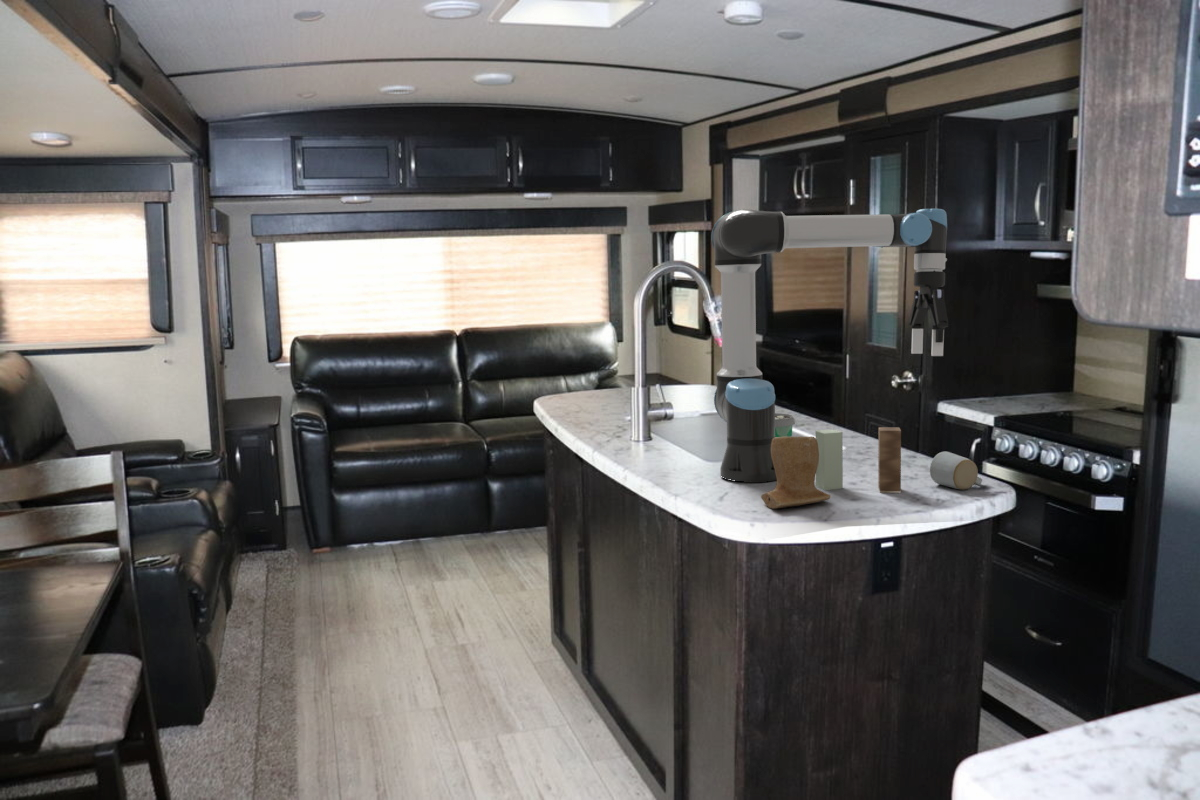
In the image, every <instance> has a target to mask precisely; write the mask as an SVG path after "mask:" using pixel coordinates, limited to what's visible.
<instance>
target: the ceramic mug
mask: <svg viewBox="0 0 1200 800" xmlns="http://www.w3.org/2000/svg"><path fill="white" fill-rule="evenodd" d="M978 472H979V469H978V466H977V465H976V463H975V462H974V461H973V460H971V459H970V458H967V457H964V456H961V455H959V454H956V453H952V452H951V451H941V452H939V453H937V454H935V456H934V457H933V459H932V460H931V463H930V465H929V475H930V477H931V479H932V480H933V481H932V482H934V483H935V484H937V485H941V486H945V487H948V488H951V489H956V490H961V491H963V490H964V491H965V490H968V489H970V488H972V487H973V486H974V485H978V486H981V484H982V483H983V478H981V477H979V476H978V475H979V473H978Z"/></svg>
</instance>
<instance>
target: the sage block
mask: <svg viewBox="0 0 1200 800" xmlns="http://www.w3.org/2000/svg"><path fill="white" fill-rule="evenodd" d="M843 434H844V433H843V431H839V430H836V429H832V428H831V429H821V430H815V438H816V440H817V442H818V448H819V462H818V467H817V471H816V474H815V487H816V488H819V489H821V490H823V489H824V491H827V490H828V491H829V490H841V489H843V487H844V485H843V483H844V478H843V477H844V475H843V474H844V471H843V470H844V469H843V468H844V466H843V461H844V460H843V459H844V458H843V457H844V456H843V454H844V453H843V447H844V446H843V443H844V442H843V441H844V440H843V438H844V437H843Z"/></svg>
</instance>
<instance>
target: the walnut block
mask: <svg viewBox="0 0 1200 800" xmlns="http://www.w3.org/2000/svg"><path fill="white" fill-rule="evenodd" d="M877 435H878V441H877V442H878V444H877V445H878V468H877V469H878V472H877V473H878V484H877V485H878V487H877V488H878V491H879V493H880V494H881V493H882V494H885V493H886V494H887V493H890V494H891V493H892V494H895V493H896V494H901V493H902V489H901V488H902V485H901V484H902V477H901V476H902V473H901V472H902V430H901V428H900V427H897V426H896V427H894V426H893V427H890V426H889V427H888V426H887V427H884V426H882V427H878V433H877Z"/></svg>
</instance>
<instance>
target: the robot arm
mask: <svg viewBox="0 0 1200 800" xmlns="http://www.w3.org/2000/svg"><path fill="white" fill-rule="evenodd" d="M947 217H948V215H947V211H945V210H944V208H943V209H942V208H922V209H918V210H916V212H910V213H898V214H897V213H895V214H889V213H888V214H885V213H883V214H832V215H831V214H829V215H828V214H827V215H826V214H825V215H822V214H821V215H820V214H819V215H785V213H783V211H764V210H755V209H745V208H743V209H737V210H735V211H730V212H728V213H725V214H724V215H722V216H721V217H720V218H718V219H717V221H716V222H715V224H714V226H713V228H712V230H711V234H710V235H711V236H710V237H711V238H710V239H711V243H712V244H711V245H712V247H713V249H714V268H715V269H717V271H719V273H720V288H721V289H720V290H721V291H720V294H721V296H720V298H721V299H720V300H721V301H720V302H721V305H720V306H721V307H720V308H721V359H722V361H721V362H722V363H721V365H722V366H721V368H720V369H719V371H717V372H716V390H715V393H714V397H713V403H714V408H715V410H716V412H717V415H718V416H719V417H720V418H721V419H722V420H723V421H724V422H726V448H725V452H724V455H723V459H722V462H721V465H720V477H721V476H722V477H724V478H726V479H731V480H735V481H744V482H743V483H765V482H766V483H767V481H768V482H773V481H777V478H776V473H775V468H774V464H773V461H772V457H771V443H772V439H773V438H774V437H775V413H776V394H775V387H774V385H773V384H772V383H771V382H770V381H769V380H765V379H763V372H762V371H761V369H759V368H758V367H757V331H756V330H757V328H756V327H757V326H756V325H757V324H756V323H757V322H756V321H757V319H756V318H757V317H756V315H757V314H756V311H757V310H756V272H757V270H758V269H759V268H760V267H761V266H762V255H764V254H774V253H775V254H777V253H783V251H785V249H807V248H809V249H810V248H811V249H812V248H816V249H817V248H851V247H852V248H853V247H857V248H858V247H859V248H861V247H873V248H882V249H883V248H914V253H913V257H914V258H913V269H914V271H915V272H914V273H913V286H914V287H917V288H919V290H914V292H913V293H914V294H913V301H912V302H913V303H912V306H911V310H910V315H909V320H908V326H909V327H910V328H911V349H910V351H911V352H910V353H911V354H912V355H913V354H915V355H916V354H920V355H922V354H923V353H924V352H923V350H924V349H923V348H924V329H925V326H924V323H925V322H924V321H925V319H926V316H927V313H929V315H930V319H931V321H932V326H931V353H930V354H931V357H944V346H945V345H944V341H945V330H946V328H948V327H949V319H948V314H947V313H948V311H947V307H946V301H945V289H939V288H940V287H942V288H943V287H944V286H945V285H946V273H945V271H943V270H945V269H946V262H947V261H948V258H946V254H947V252H946V251H947V250H946V248H947V235H948V232H947V231H948V218H947ZM735 481H734V482H735Z"/></svg>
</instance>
